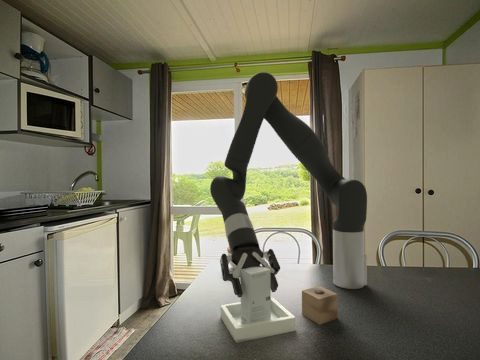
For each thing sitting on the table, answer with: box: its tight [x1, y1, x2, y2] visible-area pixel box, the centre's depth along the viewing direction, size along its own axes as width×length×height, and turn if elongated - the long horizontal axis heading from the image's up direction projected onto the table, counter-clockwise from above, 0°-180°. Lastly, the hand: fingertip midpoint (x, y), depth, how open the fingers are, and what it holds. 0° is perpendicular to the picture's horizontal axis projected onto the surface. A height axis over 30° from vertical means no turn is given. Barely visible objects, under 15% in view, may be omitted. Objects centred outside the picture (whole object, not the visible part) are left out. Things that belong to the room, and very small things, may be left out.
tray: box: [219, 296, 297, 344], centre depth 69 cm, size 14×12×3 cm
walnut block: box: [301, 285, 339, 325], centre depth 72 cm, size 6×6×6 cm
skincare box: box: [240, 265, 272, 324], centre depth 69 cm, size 6×4×12 cm
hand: (258, 293), depth 68 cm, fingers open, 8 cm apart
